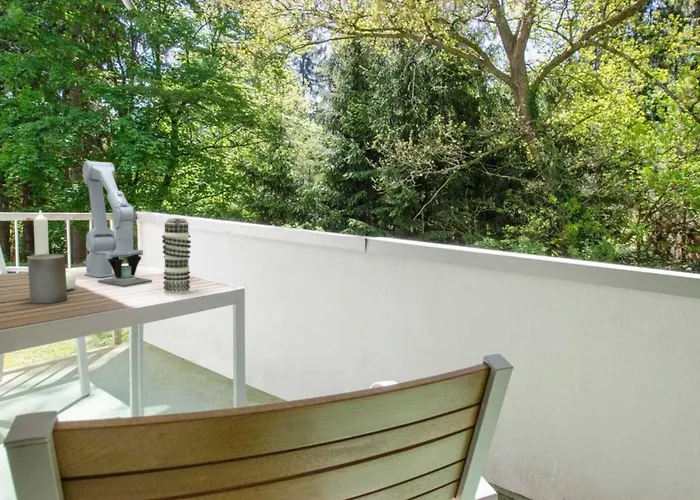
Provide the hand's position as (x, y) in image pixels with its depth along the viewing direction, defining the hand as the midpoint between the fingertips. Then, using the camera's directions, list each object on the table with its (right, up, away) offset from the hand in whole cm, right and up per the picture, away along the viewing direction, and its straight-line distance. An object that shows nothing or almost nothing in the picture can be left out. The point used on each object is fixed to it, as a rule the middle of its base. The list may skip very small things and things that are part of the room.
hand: (125, 276), depth 182 cm
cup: (0, -1, 0) cm, 1 cm away
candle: (-35, 0, +8) cm, 36 cm away
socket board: (0, -2, 0) cm, 2 cm away
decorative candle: (+23, -5, -13) cm, 27 cm away
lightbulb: (-11, -3, -24) cm, 27 cm away
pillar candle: (-9, -6, -31) cm, 33 cm away
